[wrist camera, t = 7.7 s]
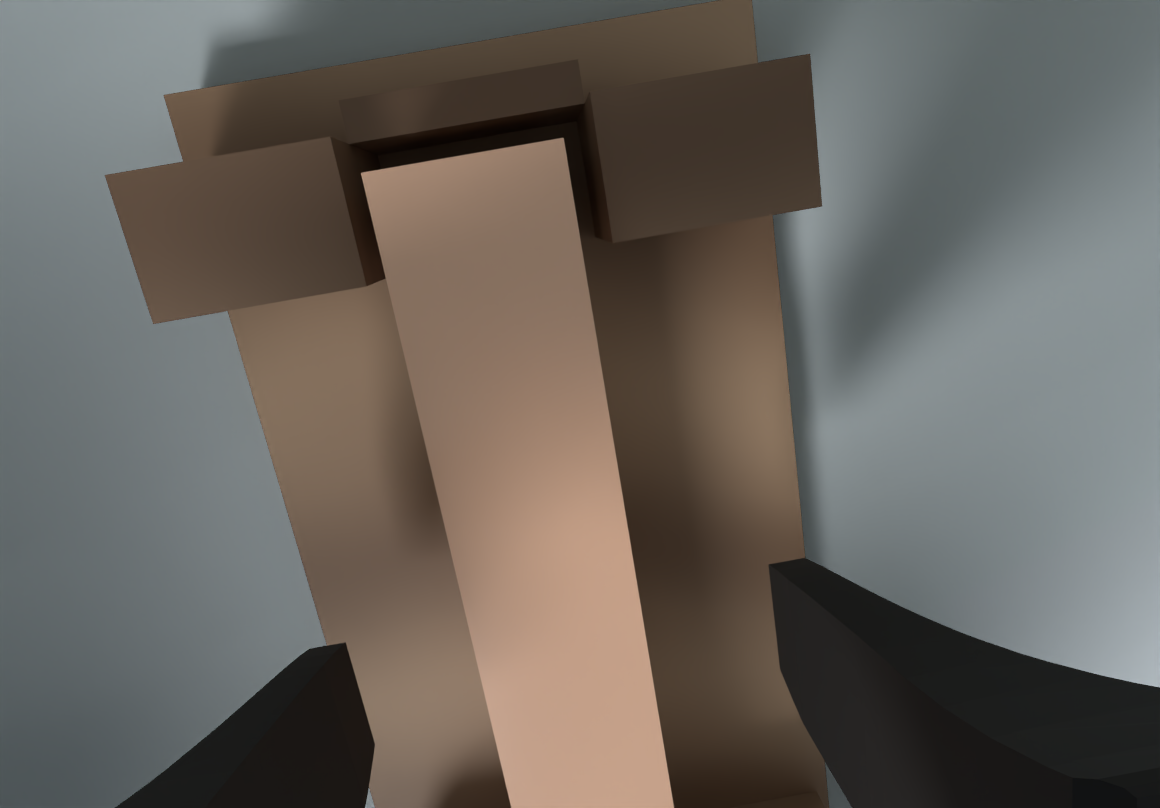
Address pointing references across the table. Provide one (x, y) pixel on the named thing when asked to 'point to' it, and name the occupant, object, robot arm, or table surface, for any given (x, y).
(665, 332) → the strip rack
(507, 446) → the clay strip
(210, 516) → the table surface
